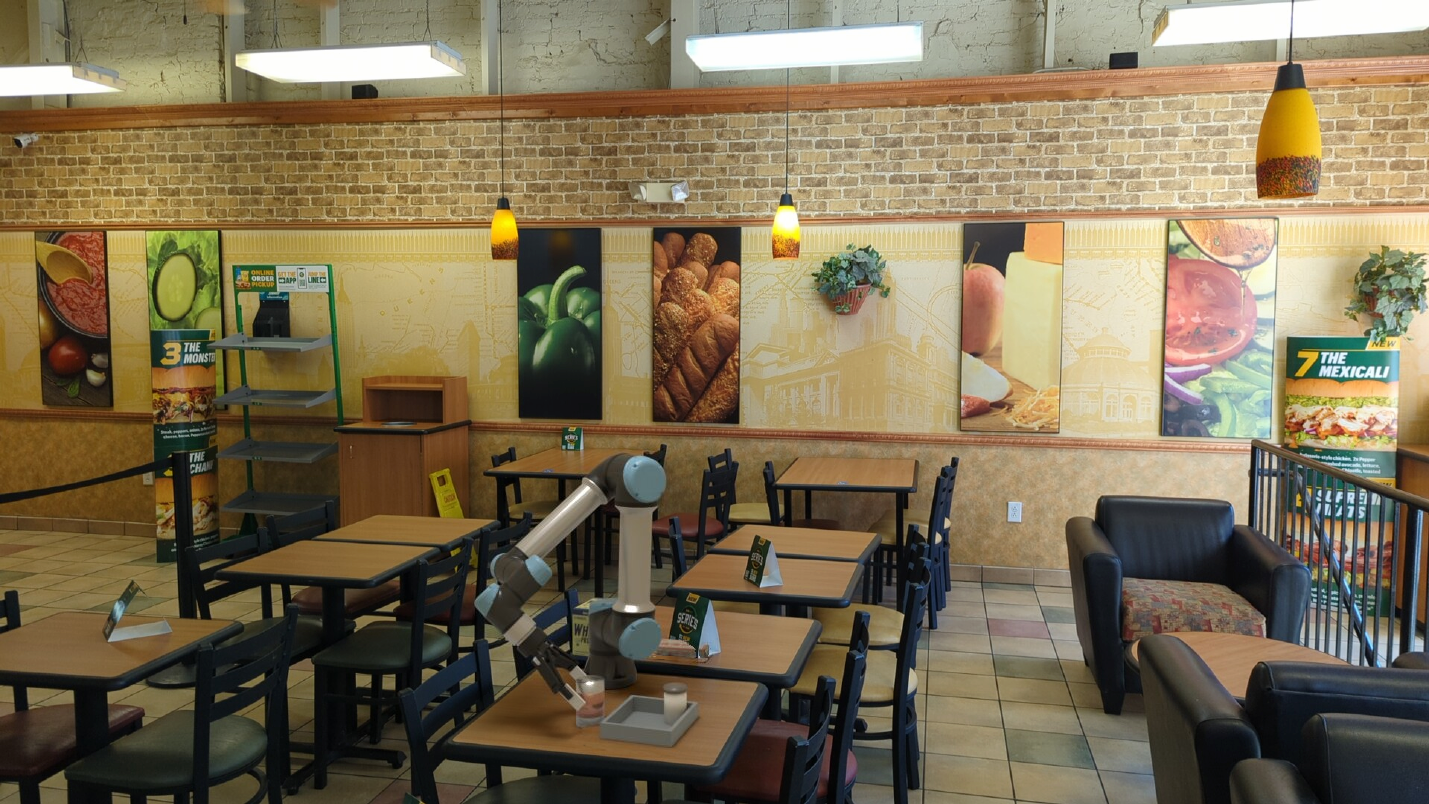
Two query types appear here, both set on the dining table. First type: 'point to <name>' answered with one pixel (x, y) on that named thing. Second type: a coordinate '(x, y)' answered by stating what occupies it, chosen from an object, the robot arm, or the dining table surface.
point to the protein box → (581, 630)
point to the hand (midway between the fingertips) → (586, 697)
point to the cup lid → (675, 688)
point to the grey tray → (646, 722)
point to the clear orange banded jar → (590, 700)
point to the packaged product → (680, 649)
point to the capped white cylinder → (674, 707)
